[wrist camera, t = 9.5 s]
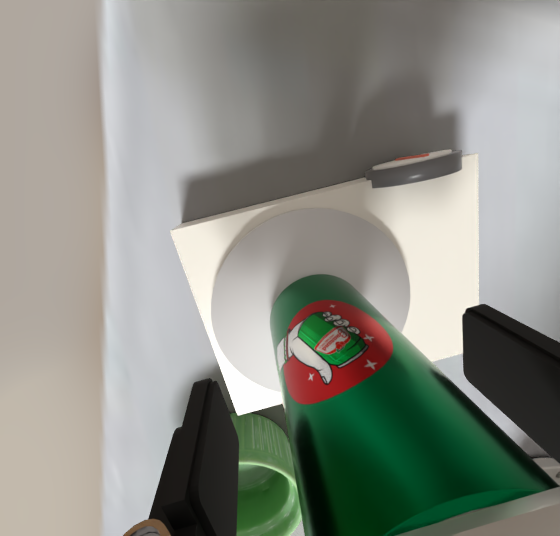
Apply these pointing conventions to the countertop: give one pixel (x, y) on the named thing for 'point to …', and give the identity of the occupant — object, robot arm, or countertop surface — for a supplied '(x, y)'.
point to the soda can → (381, 422)
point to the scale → (340, 261)
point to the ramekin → (265, 479)
